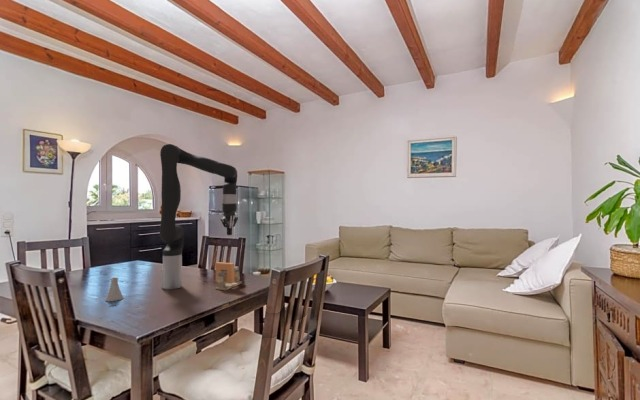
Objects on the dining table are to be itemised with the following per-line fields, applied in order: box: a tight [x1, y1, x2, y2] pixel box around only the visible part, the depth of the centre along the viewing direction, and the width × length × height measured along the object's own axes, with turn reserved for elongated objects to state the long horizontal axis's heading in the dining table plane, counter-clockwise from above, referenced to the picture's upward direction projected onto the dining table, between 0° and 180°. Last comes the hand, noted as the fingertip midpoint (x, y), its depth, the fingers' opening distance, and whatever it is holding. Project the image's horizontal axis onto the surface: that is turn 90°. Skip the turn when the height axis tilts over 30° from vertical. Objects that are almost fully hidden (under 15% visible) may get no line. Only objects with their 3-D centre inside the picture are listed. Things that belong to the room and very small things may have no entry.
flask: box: [105, 277, 124, 302], centre depth 154 cm, size 7×7×10 cm
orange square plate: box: [215, 261, 235, 284], centre depth 173 cm, size 10×2×10 cm, turn 70°
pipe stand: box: [214, 266, 243, 291], centre depth 177 cm, size 15×6×9 cm, turn 160°
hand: (229, 235), depth 178 cm, fingers closed
